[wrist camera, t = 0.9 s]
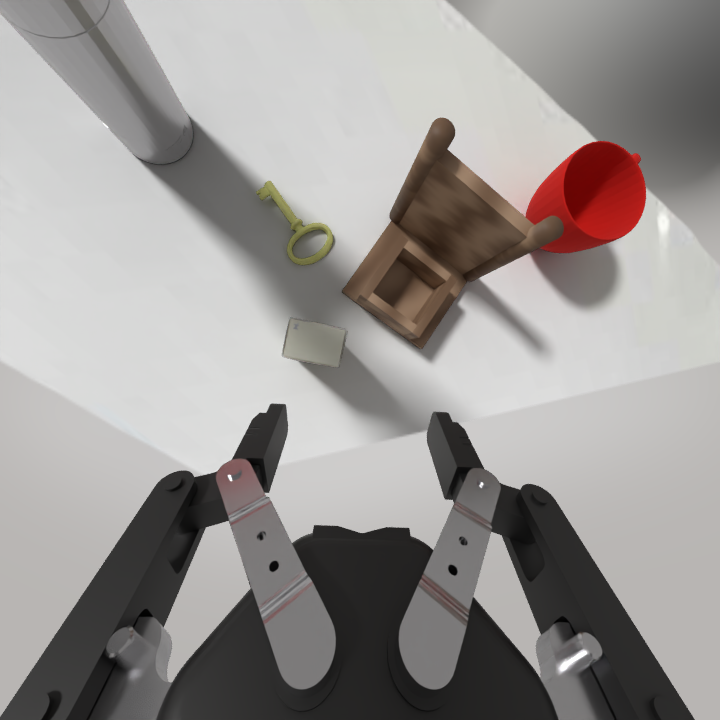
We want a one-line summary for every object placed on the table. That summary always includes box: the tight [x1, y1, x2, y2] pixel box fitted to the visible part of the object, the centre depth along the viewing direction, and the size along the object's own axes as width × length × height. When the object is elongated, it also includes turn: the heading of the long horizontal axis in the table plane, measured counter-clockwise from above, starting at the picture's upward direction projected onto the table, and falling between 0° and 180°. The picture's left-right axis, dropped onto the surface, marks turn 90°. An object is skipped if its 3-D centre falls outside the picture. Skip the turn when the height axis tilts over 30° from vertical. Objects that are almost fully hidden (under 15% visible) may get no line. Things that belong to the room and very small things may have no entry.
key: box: [256, 181, 333, 265], centre depth 37 cm, size 7×12×2 cm, turn 56°
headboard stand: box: [342, 118, 564, 349], centre depth 33 cm, size 17×15×16 cm
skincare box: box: [282, 317, 347, 368], centre depth 33 cm, size 6×4×12 cm
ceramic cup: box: [526, 141, 646, 253], centre depth 39 cm, size 13×17×10 cm
